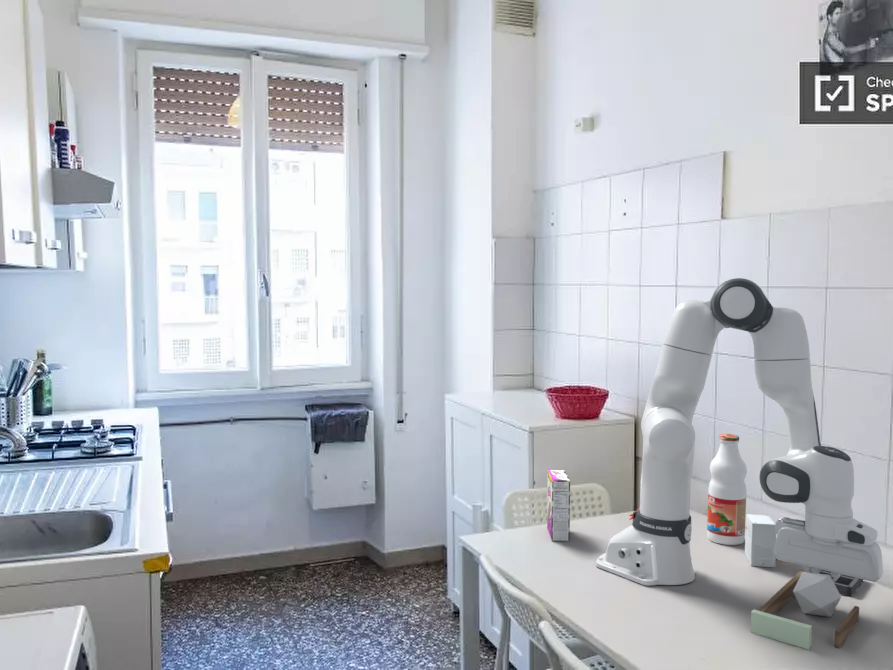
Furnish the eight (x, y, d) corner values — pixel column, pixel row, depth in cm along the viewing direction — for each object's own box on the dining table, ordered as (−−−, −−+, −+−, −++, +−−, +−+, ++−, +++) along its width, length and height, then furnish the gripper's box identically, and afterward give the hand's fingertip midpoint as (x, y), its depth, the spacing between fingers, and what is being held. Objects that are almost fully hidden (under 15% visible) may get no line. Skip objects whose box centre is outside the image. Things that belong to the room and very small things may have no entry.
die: (827, 629, 147) (854, 589, 148) (786, 600, 151) (813, 561, 151) (819, 626, 155) (845, 588, 155) (781, 598, 158) (806, 561, 159)
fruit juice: (751, 545, 194) (755, 438, 192) (718, 546, 192) (722, 439, 190) (732, 533, 203) (736, 431, 201) (700, 534, 201) (703, 432, 200)
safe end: (750, 631, 144) (751, 611, 144) (752, 629, 145) (753, 609, 145) (808, 649, 137) (809, 628, 137) (810, 646, 138) (811, 625, 138)
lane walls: (751, 631, 144) (751, 616, 144) (799, 583, 168) (799, 570, 168) (833, 655, 135) (834, 639, 135) (872, 602, 159) (873, 588, 159)
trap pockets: (801, 584, 168) (802, 575, 168) (816, 569, 177) (816, 561, 177) (851, 596, 161) (851, 587, 161) (863, 580, 170) (864, 572, 170)
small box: (775, 568, 178) (777, 524, 177) (750, 566, 179) (752, 523, 178) (768, 556, 186) (769, 515, 185) (744, 554, 187) (745, 513, 186)
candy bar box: (545, 528, 206) (546, 469, 205) (563, 528, 206) (565, 469, 205) (550, 541, 194) (552, 479, 193) (569, 542, 194) (571, 480, 193)
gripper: (771, 518, 160) (768, 581, 161) (880, 540, 147) (876, 608, 148) (780, 512, 165) (777, 573, 165) (886, 532, 152) (882, 598, 152)
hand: (825, 590), depth 156 cm, fingers closed
